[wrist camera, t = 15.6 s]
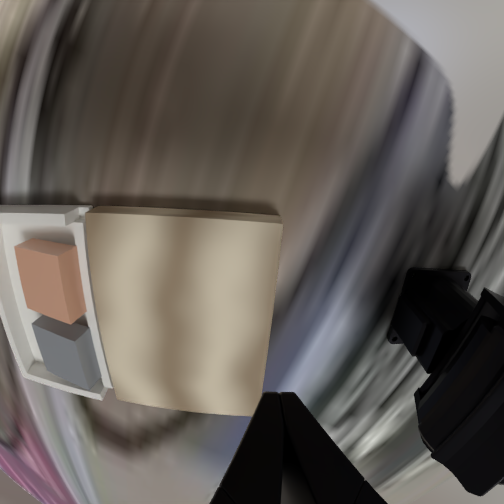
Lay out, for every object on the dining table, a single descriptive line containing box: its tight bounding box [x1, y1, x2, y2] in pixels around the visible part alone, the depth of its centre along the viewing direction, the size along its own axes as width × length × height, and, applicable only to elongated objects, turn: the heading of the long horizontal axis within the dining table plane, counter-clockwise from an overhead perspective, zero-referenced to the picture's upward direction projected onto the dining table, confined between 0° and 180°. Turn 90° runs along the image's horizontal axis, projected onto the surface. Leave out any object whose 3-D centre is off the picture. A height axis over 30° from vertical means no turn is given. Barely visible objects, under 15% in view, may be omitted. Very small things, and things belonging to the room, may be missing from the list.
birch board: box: [85, 206, 283, 416], centre depth 21 cm, size 12×16×2 cm
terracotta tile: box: [14, 238, 87, 325], centre depth 18 cm, size 5×5×2 cm
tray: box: [0, 205, 114, 400], centre depth 20 cm, size 10×16×2 cm, turn 176°
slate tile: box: [31, 315, 102, 391], centre depth 21 cm, size 5×5×2 cm
